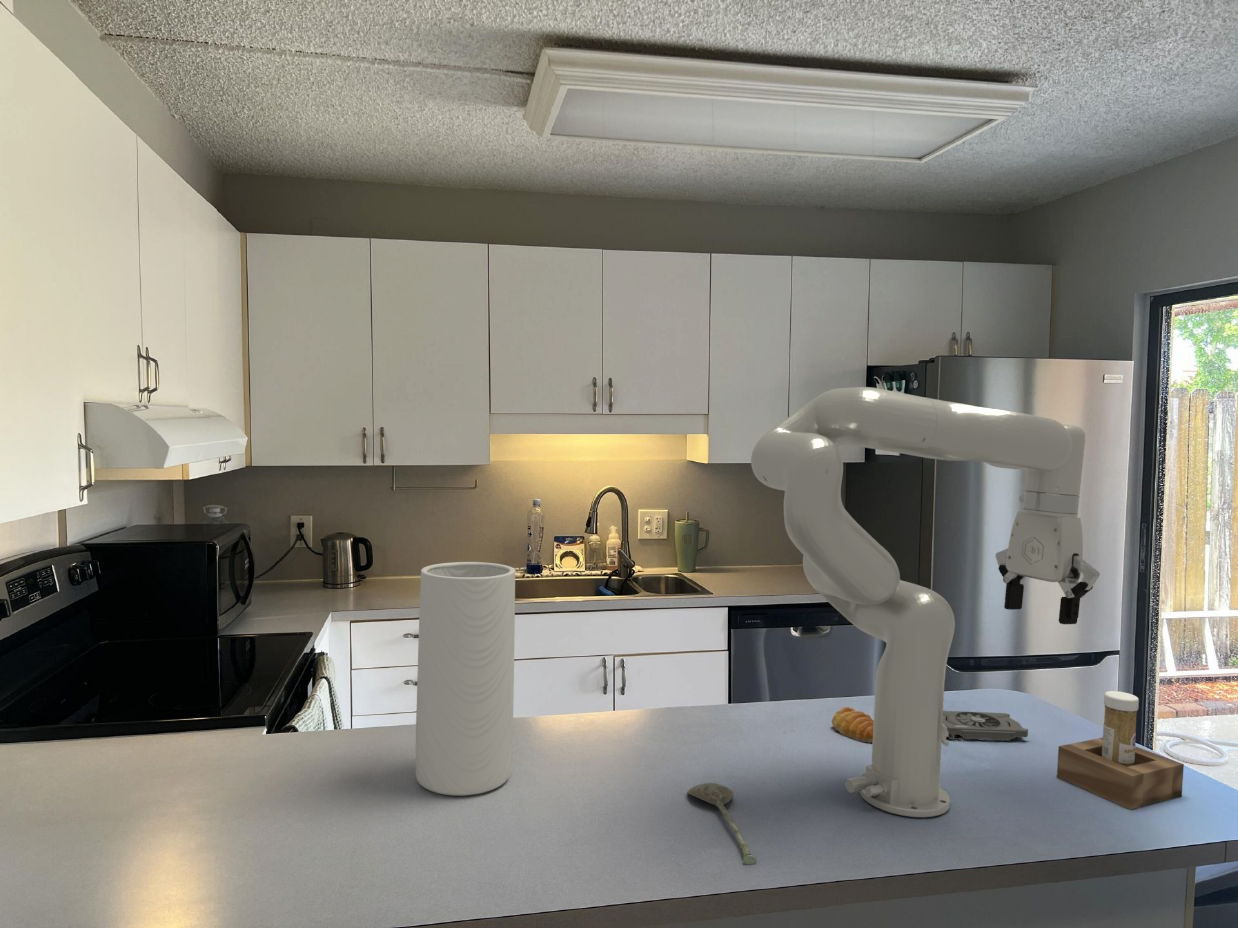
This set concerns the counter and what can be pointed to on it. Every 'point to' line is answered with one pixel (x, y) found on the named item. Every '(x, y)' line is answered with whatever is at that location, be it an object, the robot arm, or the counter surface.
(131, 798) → the counter surface
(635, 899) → the counter surface
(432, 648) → the vase
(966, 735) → the graphics card
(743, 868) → the counter surface
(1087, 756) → the walnut holder
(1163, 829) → the counter surface
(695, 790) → the soupspoon
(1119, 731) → the sprinkles bottle
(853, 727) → the pastry
